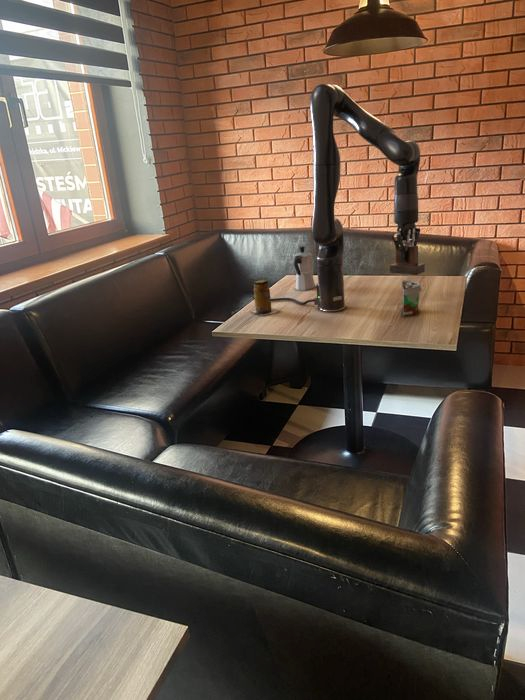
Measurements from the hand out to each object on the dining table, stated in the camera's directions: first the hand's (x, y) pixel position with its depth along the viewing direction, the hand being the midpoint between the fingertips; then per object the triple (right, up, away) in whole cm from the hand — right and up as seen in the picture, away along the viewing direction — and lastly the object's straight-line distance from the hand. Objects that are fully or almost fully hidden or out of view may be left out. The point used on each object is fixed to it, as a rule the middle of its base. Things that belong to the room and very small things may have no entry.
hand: (406, 261), depth 177 cm
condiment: (-47, -15, +28) cm, 56 cm away
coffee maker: (-30, -3, +54) cm, 62 cm away
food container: (+4, -17, +8) cm, 19 cm away
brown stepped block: (0, -4, +1) cm, 4 cm away
